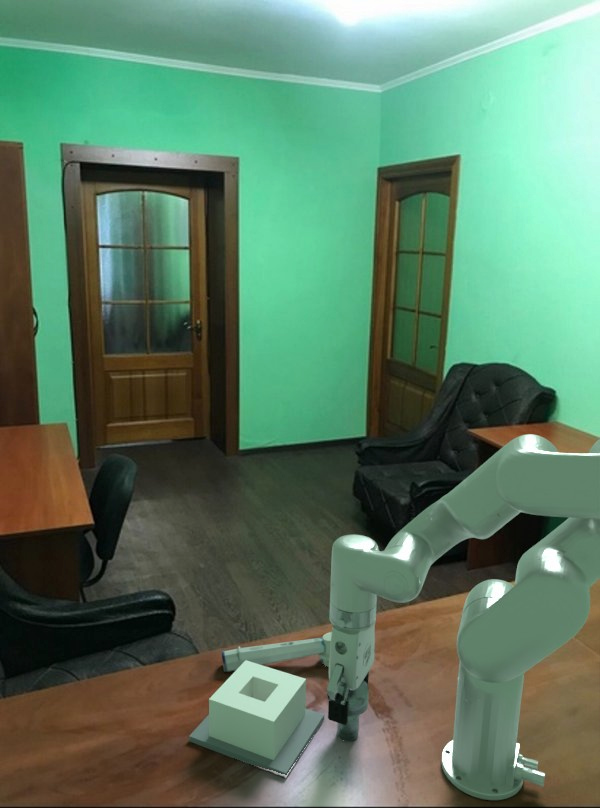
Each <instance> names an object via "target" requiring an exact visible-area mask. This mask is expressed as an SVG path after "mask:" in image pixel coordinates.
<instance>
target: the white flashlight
mask: <svg viewBox="0 0 600 808" xmlns="http://www.w3.org/2000/svg"><path fill="white" fill-rule="evenodd" d="M331 635H332V631H329V632H327V633H324V634H323V636H321V637H316V638H308V639H301V640H300V639H299V640H294V641H293V640H292V641H286V642H285V641H284V642H278V643H269V644H262V645H254V646H253V645H252V646H245V647H241V646H238V647H237V648H234V649H233V648H232V649H230V650H223V651H221V659H222V666H223V671H224V673H230V672H235V671H236V670H237V669H238V668H239V667H240V666H241V665H242V663H243V662H244V661H245V660H247V661H250V662H253V663H256V664H260V665H263V666H266V665H269V664H270V665H271V664H276V663H280V662H286V661H291V660H295V659H299V658H305V657H311V656H315V655H318V658H319V659H320V661H321V662H322V663H321V665H322V664H324V665H326V666H327V667H328V668H329V653H330V643H331ZM324 665H323V666H324ZM326 666H325V667H326ZM327 667H326V668H327Z"/></svg>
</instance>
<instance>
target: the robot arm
mask: <svg viewBox="0 0 600 808" xmlns="http://www.w3.org/2000/svg"><path fill="white" fill-rule="evenodd" d="M520 513H524V514H529V515H535V516H543V517H554V518H555V517H557V518H567V519H566V520H564V521H563V522H562V523H561V524H560V525H558V526H557V527H556V528H555V529H553V530H552V531H550V533H549V534H547V535H546V536H545V537H544V538H542V539H540V541H538V542H537V543H536V544H534V545H532V547H530V548H529V549H528V550H527V551H525V552H524V553H523V554H522V556H521V557H520V559H519V560H518V563H517V566H516V567H517V568H516V571H515V580H514V585H513V584H512V583H511V582H508V581H506V580H503V579H497V578H496V579H495V578H494V579H493V578H491V579H487V580H484V581H482V582H480V583H478V584H476V585H475V586H474V587H473V588H472V589H471V590H470V591H469V593H468V594H467V596H466V599H465V602H464V604H463V608H462V612H461V615H460V623H459V627H458V631H457V637H456V651H457V656H458V659H459V665H458V666H459V667H458V677H457V685H456V686H457V687H456V688H457V689H456V700H455V711H454V721H453V723H454V725H453V738H452V740H451V741H449V742H448V743H447V744H445V746H444V748H443V750H442V753H441V760H440V761H441V762H440V763H441V767H442V771H443V773H444V775H445V777H446V778H447V779H448V780H449V781H450V782H451V784H452V785H453V786H454V787H456V788H457V789H458V790H460V791H461V792H463V793H465V794H467V795H470V796H472V797H474V798H477V799H480V800H484V801H485V800H486V801H487V800H488V801H501V800H506V799H510V798H512V797H513V796H515V795H517V794H518V792H519V791H520V790H521V789H522V788H523V784H524V781H526V782H529V783H531V784H534V785H537V786H539V787H544V785H545V776H546V773H545V772H543V771H541V770H538V768H539V767H538V766H539V761H538V760H535V759H532V758H527V757H524V756H523V755H524V754H521V753H520V748H521V747H520V743H518V734H519V723H520V715H521V707H522V706H521V704H522V703H521V702H522V695H523V687H524V677H525V673H526V672H527V671H529V670H530V669H531V668H533V667H534V666H536V665H537V664H538V663H541V661H543V660H544V659H546V658H547V657H549V656H550V655H551V654H553V653H554V652H556V651H557V650H558V649H559V648H560V649H561V647H563V646H564V645H565V644H567V643H568V642H569V641H570V640H572V639H573V638H574V637H575V636H576V635H577V634H578V633H579V632H580V630H582V628H583V627H584V625H585V624H586V622H587V620H588V618H589V614H590V610H591V594H590V593H591V592H590V589H591V587H592V586H594V584H595V583H596V582H597V581H598V580H599V579H600V438H599V439H597V440H596V442H595V443H594V444H593V445H592V446H591V447H590V449H589V452H588V453H576V452H575V453H572V452H568V453H567V452H559V450H558V448H557V447H556V446H555V445H554V443H552V442H551V441H549V440H548V439H547V438H546V437H543V436H541V435H537V434H532V433H531V434H530V433H528V434H522V435H518V436H517V437H515V438H513V439H512V440H510V441H509V442H508V443H506V444H504V445H503V446H502V447H501V448H500V449H499V450H498V451H496V452H495V453H494V454H493V455H492V456H491V457H489V458H488V459H487V460H486V461H485V462H483V464H481V465H480V466H479V467H478V468H476V469H475V470H474V471H473V472H472V473H471V474H470V475H468V476H467V477H466V478H464V479H463V480H462V481H461V482H460V483H459V484H458V485H456V486H455V487H454V488H453V489H452V490H450V491H449V492H448V493H447V494H445V495H443V496H442V497H440V499H438V500H437V501H435V502H434V503H432V504H430V505H429V506H428V507H426V508H425V509H424V510H423V511H421V512H420V513H419V514H418V515H417V516H416V517H414V518H413V519H412V520H411V521H409V522H408V523H407V524H406V525H405V526H404V527H402V529H400V530H399V531H398V532H397V533H396V534H395V535H394V536H393V537H392V538H391V539H390V541H389V542H388V544H387V546H386V547H385V549H384V550H381V551H380V549H379V546H378V544H377V542H376V541H375V540H374V539H372V538H371V537H369V536H365V535H363V534H344V535H342V536H339V537H338V538H337V539H336V540H335V541H334V542H333V544H332V548H331V564H330V565H331V566H330V567H331V569H330V592H329V593H330V595H329V596H330V597H329V598H330V599H329V618H328V619H329V622H330V623H331V624H332V628H331V632H332V635H331V643H330V653H329V667H328V680H329V682H328V685H327V687H326V693H327V701H328V705H327V706H328V707H327V708H328V710H327V713H328V714H327V719H328V720H329V721H331V722H335V723H337V724H338V723H340V724H343V725H346V724H347V722H348V702H347V701H346V700H347V696H348V692H349V688H350V689H352V690H355V689H357V688H358V687H359V686H360V684H361V683H362V681H363V680H364V681H365V682H366V683H367V684H368V685H369V676H370V675H369V674H370V670H371V668H372V666H373V664H374V662H375V657H376V656H375V654H376V653H375V652H376V650H375V649H376V648H375V647H376V645H375V644H376V636H375V635H376V633H375V632H376V631H375V630H376V629H375V628H376V627H375V625H376V622H377V621H376V620H377V619H376V618H377V600H378V597H381V598H383V599H386V600H388V601H391V602H394V603H399V604H400V603H408V602H409V603H410V602H411V601H413V600H415V599H416V598H417V597H418V596H419V594H420V593H421V592H422V589H423V585H424V584H425V581H426V578H427V575H428V572H429V570H430V568H431V566H432V565H433V564H434V563H435V562H436V561H437V560H438V559H439V558H441V557H442V556H443V555H445V554H446V553H447V552H449V550H451V549H452V548H453V547H455V546H456V545H458V544H459V543H461V542H463V541H465V540H467V539H472V538H475V539H479V540H486V539H488V538H490V537H492V536H494V534H495V533H497V532H498V531H499V530H500V529H502V528H503V527H504V526H505V525H506V524H507V523H509V522H510V521H512V520H513V519H514V518H516V516H518V515H519V514H520ZM341 678H344V679H345V682H346V683H344V682H341ZM338 686H342V687H344V691H343V695H341V694H340V693H338Z"/></svg>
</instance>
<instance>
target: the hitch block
mask: <svg viewBox="0 0 600 808" xmlns="http://www.w3.org/2000/svg"><path fill="white" fill-rule="evenodd" d="M306 692H307V678H304V677H301V676H298V675H294V674H291V673H289V672H286V671H282V670H280V669H279V670H278V669H275V668H273V667H269V666H266V665H260V664H256V663H253V662H250V661H247V660H245V661H244V662H243V663H242V665H241V666H240V667H239V668H238V669H237V670H236V671H233V673H232V674H231V675H230V676H229V677H227V679H226V680H225V682H224V683H223V684H222V685H221V686H220V687H219V688H218V689H217V690H216V691H215V692H214V693H213V694H212V695H211V697H209V698H208V708H209V709H208V712H209V713H208V715H207V716H205V718H204V719H203V720H202V721H201V723H200V724H199V725H198V726H197V727H196V728H195V729H194V730H193V731H192V733H190V735H188V741H189V742H190V743H193V744H195V745H198V746H200V747H202V748H203V747H204V748H206V749H208V750H211V751H214V752H217V753H219V754H221V755H224V756H227V757H229V758H232V759H234V758H235V759H234V760H236V759H237V761H239V760H241V761H240V762H242V761H244V762H246V763H245V764H247V763H249V764H251V765H250V766H252V765H255V766H259V767H262V768H265V769H269V770H273V771H276V772H278V773H281V774H285V775H287V773H288V772H289V770H290V769H291V767H292V766H293V764H294V763H295V762H296V760H297V759H298V757H299V756H300V754H301V753H302V751H303V750H304V748H305V747H306V745H307V744H308V743H309V744H310V742H311V741H312V739H313V738H314V736H315V735H316V733H317V732H316V731H318V730H319V728H320V727H321V725H322V724H323V722H324V721H323V720H325V714H324V713H321V712H317V711H315V710H311V709H309V708H306V706H307V705H306V700H307V699H306V696H307V695H306V694H307V693H306ZM321 723H322V724H321ZM319 726H320V727H319ZM317 729H318V730H317ZM315 732H316V733H315ZM314 734H315V735H314ZM313 735H314V736H313ZM312 737H313V738H312ZM311 738H312V739H311ZM310 740H311V741H310ZM309 741H310V742H309ZM309 744H308V745H309ZM308 745H307V746H308ZM306 748H307V747H306ZM304 751H305V750H304ZM302 754H303V753H302ZM300 757H301V756H300ZM298 760H299V759H298ZM244 762H243V763H244ZM249 764H248V765H249ZM255 766H254V767H255Z"/></svg>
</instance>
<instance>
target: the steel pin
mask: <svg viewBox="0 0 600 808" xmlns="http://www.w3.org/2000/svg"><path fill="white" fill-rule="evenodd" d="M341 682H344V683H346V682H345V679H344V678H341ZM343 691H344V687H342V686H338V693H340V694H341V695H343ZM369 691H370V687H369V683H368V684H367V683H366V682H365V681H364V680H363V681H362V683H361V684H360V686H359V687H358V688H357V689H355V690H352V689H350V688H349V692H348V696H347V700H346V701H347V702H348V722H347V724H346V725H343V724H340V723H337V727H336V728H337V731H336V735H337V737H338V738H339V739H340V740H341V741H343V740H344V741H343V742H347V741H348V743H349V742H350V741H351V742H354V741H356V740H357V739H358V737H359V730H360V729H359V728H360V715H362V714H363V713H365V712H366V711H367V709H368V708H369V698H370V696H369V694H370V692H369Z"/></svg>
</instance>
